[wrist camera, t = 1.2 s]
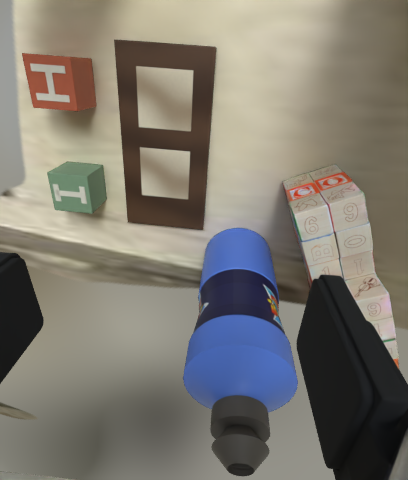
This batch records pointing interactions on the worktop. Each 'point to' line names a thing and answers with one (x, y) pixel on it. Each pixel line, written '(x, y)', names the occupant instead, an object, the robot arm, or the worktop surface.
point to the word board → (165, 129)
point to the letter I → (77, 187)
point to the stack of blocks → (340, 242)
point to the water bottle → (239, 349)
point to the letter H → (60, 82)
